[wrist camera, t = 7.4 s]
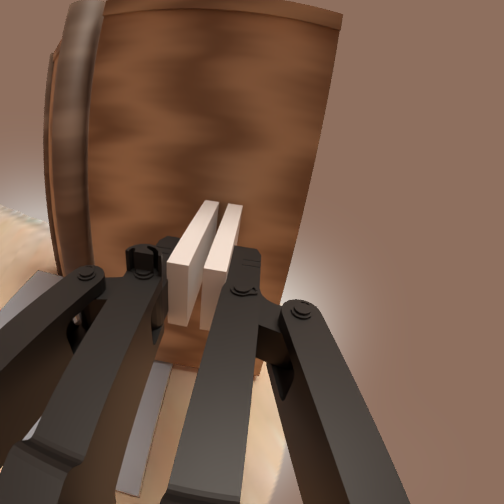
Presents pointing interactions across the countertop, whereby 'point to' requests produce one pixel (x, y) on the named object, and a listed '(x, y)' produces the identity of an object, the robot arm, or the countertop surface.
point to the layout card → (149, 403)
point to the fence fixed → (71, 136)
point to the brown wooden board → (206, 130)
